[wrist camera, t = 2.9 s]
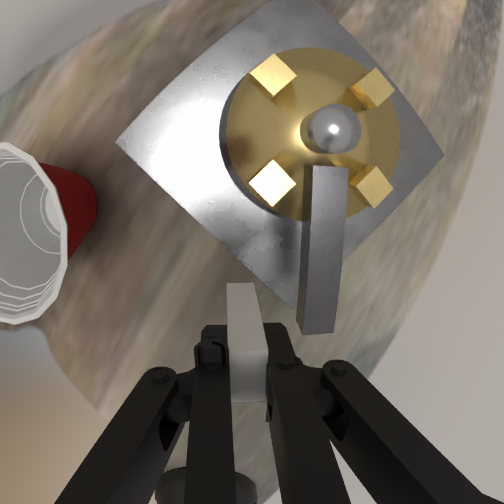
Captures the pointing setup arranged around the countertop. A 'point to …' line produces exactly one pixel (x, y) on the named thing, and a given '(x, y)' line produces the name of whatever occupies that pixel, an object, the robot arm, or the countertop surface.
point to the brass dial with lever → (315, 157)
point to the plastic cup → (38, 231)
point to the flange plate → (196, 146)
